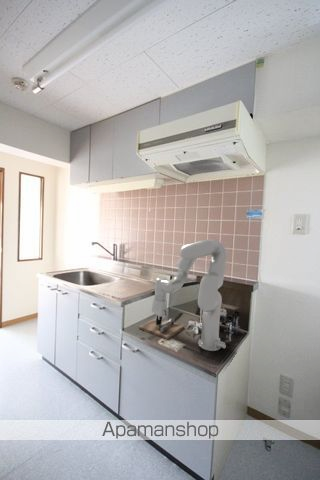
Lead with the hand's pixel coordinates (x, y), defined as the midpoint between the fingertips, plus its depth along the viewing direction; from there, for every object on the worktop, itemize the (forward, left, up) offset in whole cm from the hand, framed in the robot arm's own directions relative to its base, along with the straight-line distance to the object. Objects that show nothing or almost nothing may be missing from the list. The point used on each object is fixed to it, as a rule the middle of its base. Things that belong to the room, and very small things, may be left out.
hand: (158, 324), depth 143 cm
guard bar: (-3, -3, -1) cm, 5 cm away
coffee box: (-22, -26, -3) cm, 34 cm away
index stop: (-6, +3, -3) cm, 8 cm away
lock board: (-1, -2, -3) cm, 4 cm away
